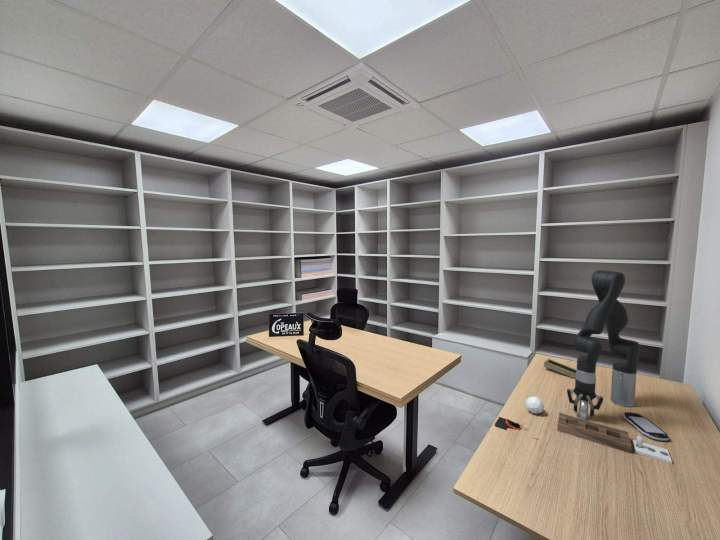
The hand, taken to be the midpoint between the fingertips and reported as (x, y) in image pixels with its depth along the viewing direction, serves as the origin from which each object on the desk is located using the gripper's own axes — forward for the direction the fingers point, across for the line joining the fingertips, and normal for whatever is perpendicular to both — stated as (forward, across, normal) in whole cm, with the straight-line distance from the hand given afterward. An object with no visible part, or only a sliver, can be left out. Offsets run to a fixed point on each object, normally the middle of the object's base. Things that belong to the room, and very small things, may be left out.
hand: (583, 413), depth 140 cm
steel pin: (+2, 0, 0) cm, 2 cm away
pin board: (+2, -3, +13) cm, 13 cm away
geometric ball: (+2, +19, +8) cm, 21 cm away
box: (+2, +10, -52) cm, 53 cm away
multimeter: (+3, +23, +26) cm, 35 cm away
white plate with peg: (+2, -22, +13) cm, 25 cm away
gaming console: (+3, -22, -7) cm, 23 cm away
